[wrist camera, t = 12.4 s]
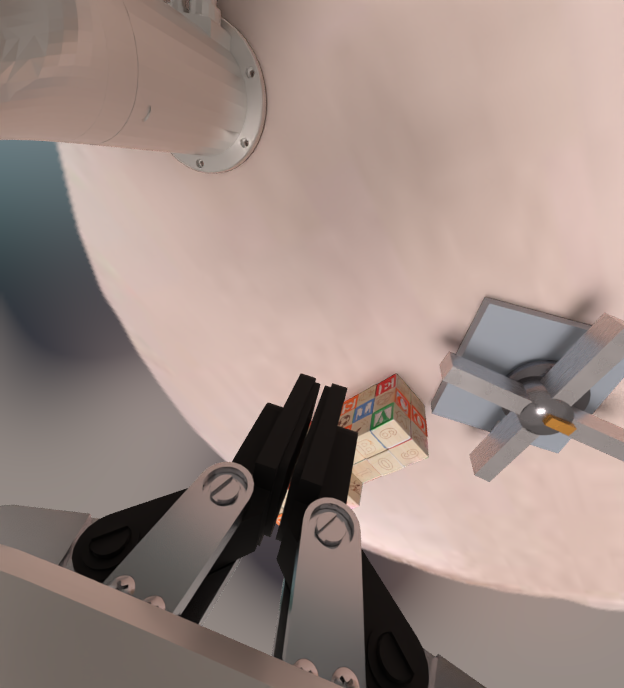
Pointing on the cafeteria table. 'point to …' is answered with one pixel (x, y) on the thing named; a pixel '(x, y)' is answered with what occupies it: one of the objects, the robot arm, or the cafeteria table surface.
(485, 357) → the stand
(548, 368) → the capstan
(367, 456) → the stack of blocks
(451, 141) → the cafeteria table surface
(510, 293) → the cafeteria table surface
